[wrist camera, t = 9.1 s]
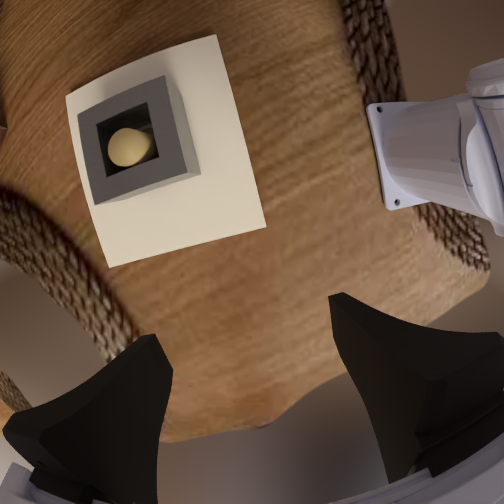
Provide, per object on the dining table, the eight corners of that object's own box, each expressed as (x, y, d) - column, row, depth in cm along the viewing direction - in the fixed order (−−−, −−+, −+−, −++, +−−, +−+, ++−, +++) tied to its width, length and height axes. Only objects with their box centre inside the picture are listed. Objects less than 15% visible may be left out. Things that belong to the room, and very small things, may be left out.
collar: (181, 95, 16) (164, 74, 12) (201, 174, 17) (187, 172, 13) (107, 124, 16) (76, 114, 12) (124, 199, 17) (94, 205, 13)
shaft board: (217, 39, 15) (208, 2, 10) (265, 223, 19) (273, 246, 14) (72, 98, 16) (29, 87, 11) (114, 263, 20) (80, 293, 15)
